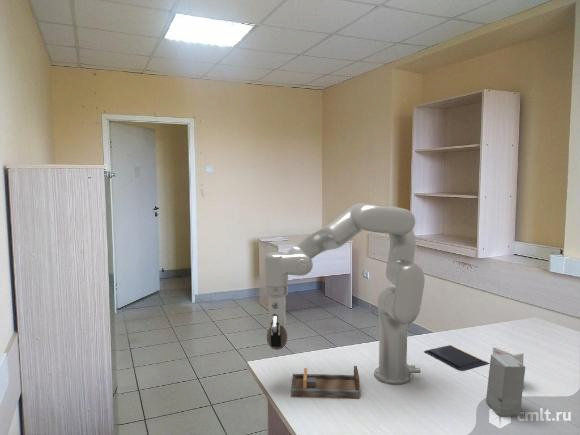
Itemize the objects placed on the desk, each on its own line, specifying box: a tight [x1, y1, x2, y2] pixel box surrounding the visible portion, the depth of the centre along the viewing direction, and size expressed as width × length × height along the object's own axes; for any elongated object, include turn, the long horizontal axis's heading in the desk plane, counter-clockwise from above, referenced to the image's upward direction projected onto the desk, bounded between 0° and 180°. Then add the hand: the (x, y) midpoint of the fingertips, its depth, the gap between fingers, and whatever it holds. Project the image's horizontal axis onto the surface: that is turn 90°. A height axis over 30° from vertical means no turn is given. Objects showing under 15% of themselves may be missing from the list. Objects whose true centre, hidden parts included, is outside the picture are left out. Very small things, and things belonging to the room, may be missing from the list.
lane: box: [290, 365, 361, 400], centre depth 144 cm, size 22×12×6 cm, turn 86°
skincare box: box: [485, 353, 526, 417], centre depth 130 cm, size 8×7×16 cm
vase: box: [266, 324, 288, 351], centre depth 144 cm, size 7×7×9 cm
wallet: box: [423, 344, 490, 372], centre depth 168 cm, size 20×2×15 cm
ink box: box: [492, 344, 524, 365], centre depth 147 cm, size 9×5×12 cm, turn 26°
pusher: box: [303, 367, 316, 389], centre depth 145 cm, size 4×9×4 cm, turn 176°
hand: (277, 341), depth 145 cm, fingers closed on vase, 6 cm apart
